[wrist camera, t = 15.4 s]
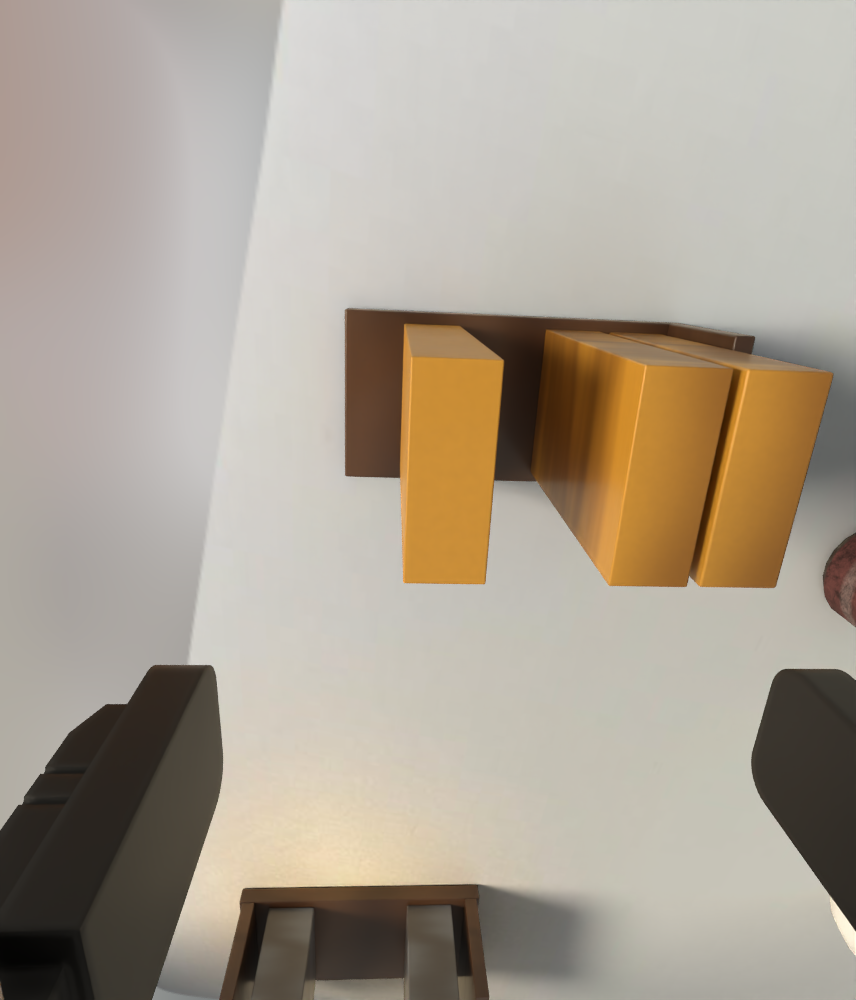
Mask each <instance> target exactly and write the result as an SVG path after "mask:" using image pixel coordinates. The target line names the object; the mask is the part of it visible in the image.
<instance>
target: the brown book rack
mask: <svg viewBox="0 0 856 1000" xmlns="http://www.w3.org/2000/svg"><path fill="white" fill-rule="evenodd" d="M478 905H479V893H478V886H477V885H448V886H387V887H326V888H265V889H243V891H242V895H241V899H240V916H239V920H238V924H237V928H236V932H235V936H234V941H233V945H232V949H231V953H230V957H229V961H228V965H227V970H226V974H225V978H224V982H223V986H222V990H221V994H220V998H219V1000H313V999H314V990H315V981H316V980H350V979H388V978H404V1000H489V990H488V983H487V975H486V968H485V960H484V952H483V945H482V937H481V930H480V922H479V914H478Z"/></svg>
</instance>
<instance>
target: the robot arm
mask: <svg viewBox="0 0 856 1000" xmlns="http://www.w3.org/2000/svg"><path fill="white" fill-rule="evenodd" d="M751 766H752V774H753V779H754V782H755V786H756V788H757V791H758V793H759V795H760V797H761V799H762V800H763V802H764V803H765V805H766V806H767V807H768V809H769V810H770V812H771V813H772V815H773V816H774V817H775V819H776V820H777V822H778V823H779V824H780V826H781V827H782V829H783V830H784V831H785V833H786V834H787V836H788V837H789V838H790V840H791V841H792V843H793V844H794V845H795V847H796V848H797V850H798V851H799V853H800V854H801V855H802V857H803V858H804V860H805V861H806V862H807V864H808V865H809V867H810V868H811V869H812V871H813V872H814V874H815V875H816V876H817V878H818V879H819V881H820V882H821V883H822V885H823V886H824V888H825V889H826V891H827V892H828V893H829V895H830V896H831V898H832V899H833V900H834V902H835V903H836V905H837V906H838V907H839V909H840V910H841V912H842V913H843V914H844V916H845V917H846V919H847V920H848V921H849V923H850V924H851V926H852V927H853V929H854V930H855V931H856V680H855V679H853V678H852V677H851V676H850V675H848V674H847V673H846V672H843V671H841V670H838V669H784V670H781V671H780V672H778V673H777V674H776V676H775V677H774V679H773V682H772V685H771V688H770V692H769V695H768V699H767V702H766V706H765V709H764V713H763V716H762V720H761V723H760V727H759V730H758V734H757V737H756V741H755V744H754V748H753V752H752V759H751ZM222 772H223V749H222V738H221V726H220V715H219V704H218V692H217V681H216V675H215V671H214V668H213V667H212V666H211V665H154V666H153V667H151V668H150V669H149V670H148V672H147V673H146V675H145V676H144V678H143V680H142V681H141V683H140V685H139V686H138V688H137V689H136V691H135V693H134V694H133V696H132V697H131V699H130V701H129V702H128V704H107V705H105V706H104V707H102V708H101V709H100V710H98V711H97V712H96V713H94V714H93V715H92V716H90V717H89V718H88V719H87V720H85V721H84V722H83V723H81V724H80V725H79V726H78V727H76V728H75V729H74V730H73V731H71V732H70V733H69V734H68V736H67V737H66V738H65V740H64V741H63V743H62V744H61V746H60V747H59V748H58V750H57V751H56V753H55V754H54V755H53V757H52V758H51V760H50V761H49V763H48V764H47V765H46V767H45V773H44V774H40V775H39V777H38V778H37V779H36V781H35V782H34V784H33V785H32V786H31V788H30V789H29V791H28V792H27V794H26V795H25V796H24V802H23V804H22V805H18V806H17V808H16V809H15V810H14V812H13V813H12V815H11V816H10V818H9V819H8V820H7V822H6V823H5V825H4V826H3V828H2V829H1V830H0V1000H152V998H153V995H154V992H155V989H156V986H157V983H158V980H159V977H160V974H161V971H162V968H163V965H164V962H165V959H166V956H167V953H168V950H169V947H170V944H171V941H172V938H173V935H174V932H175V929H176V926H177V923H178V920H179V917H180V914H181V911H182V908H183V905H184V902H185V899H186V896H187V893H188V890H189V887H190V884H191V880H192V877H193V874H194V871H195V868H196V865H197V862H198V859H199V856H200V853H201V850H202V847H203V844H204V841H205V838H206V835H207V832H208V829H209V826H210V823H211V820H212V817H213V814H214V811H215V808H216V805H217V802H218V798H219V793H220V788H221V781H222Z"/></svg>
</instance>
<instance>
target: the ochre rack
mask: <svg viewBox="0 0 856 1000" xmlns="http://www.w3.org/2000/svg"><path fill="white" fill-rule="evenodd" d="M404 324H426V325H450V326H461V327H462V328H463V329H464V330H466V331H467V332H468V333H470V334H471V335H472V336H473V337H475V338H476V339H477V340H479V341H480V342H481V343H482V344H484V345H485V346H486V347H488V348H489V349H490V350H491V351H493V352H494V353H495V354H497V355H498V356H499V357H500V358H502V359H503V360H504V371H503V383H502V395H501V406H500V418H499V430H498V441H497V453H496V465H495V476H494V480H501V481H537V482H538V484H539V485H540V487H541V488H542V489H543V491H544V492H545V494H546V495H547V497H548V498H549V500H550V501H551V502H552V504H553V505H554V507H555V508H556V510H557V511H558V513H559V514H560V515H561V517H562V518H563V520H564V521H565V523H566V524H567V526H568V527H569V528H570V530H571V531H572V533H573V534H574V536H575V537H576V539H577V540H578V541H579V543H580V544H581V546H582V547H583V549H584V550H585V552H586V553H587V555H588V556H589V557H590V559H591V560H592V562H593V563H594V565H595V566H596V568H597V569H598V570H599V572H600V573H601V575H602V576H603V578H604V579H605V581H606V582H607V583H608V585H610V586H659V587H686V586H687V583H688V578H689V576H690V577H691V578H692V579H693V580H694V581H695V582H696V583H697V584H698V585H699V586H700V587H744V588H775V587H776V584H777V580H778V576H779V573H780V569H781V565H782V562H783V558H784V554H785V551H786V547H787V544H788V540H789V536H790V533H791V529H792V525H793V522H794V518H795V514H796V511H797V507H798V503H799V500H800V496H801V492H802V489H803V485H804V481H805V478H806V474H807V471H808V467H809V463H810V460H811V456H812V452H813V449H814V445H815V441H816V438H817V434H818V430H819V427H820V423H821V419H822V416H823V412H824V408H825V405H826V401H827V398H828V394H829V390H830V387H831V383H832V379H833V373H831V372H828V371H824V370H819V369H815V368H810V367H806V366H801V365H797V364H792V363H788V362H783V361H779V360H774V359H770V358H765V357H761V356H756V355H752V350H753V345H754V341H755V337H754V336H750V335H744V334H738V333H732V332H727V331H721V330H715V329H709V328H703V327H697V326H691V325H685V324H681V323H669V322H647V321H625V320H602V319H580V318H558V317H535V316H513V315H491V314H468V313H446V312H423V311H401V310H379V309H356V308H347V309H346V310H345V475H346V476H353V477H390V478H400V452H401V418H402V383H403V349H404Z"/></svg>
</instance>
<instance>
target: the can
mask: <svg viewBox="0 0 856 1000" xmlns="http://www.w3.org/2000/svg"><path fill="white" fill-rule="evenodd" d="M823 584H824V593H825V597H826V599H827V601H828V603H829V605H830V607H831V608H832V609H833V610H834V611H836V612H837V613H838V614H839V615H841V616H842V617H843V618H845V619H846V620H847V621H848V622H850V623H851V624H852V625H854V626H855V627H856V533H855V534H853V535H852V536H850V537H848V538H847V539H845V540H844V541H843V542H842V543H841V544H840V545H839V546H838V547H837V548H836V549H835V550H834V551H833V553H832V555H831V556H830V558H829V560H828V561H827V563H826V566H825V570H824V574H823Z"/></svg>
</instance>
